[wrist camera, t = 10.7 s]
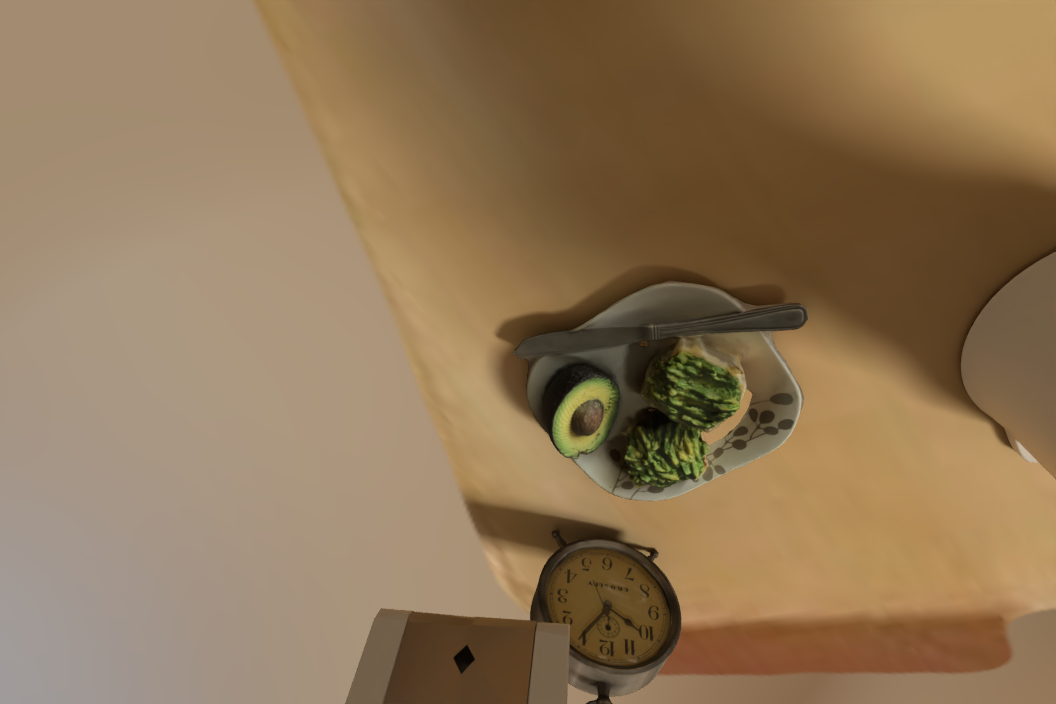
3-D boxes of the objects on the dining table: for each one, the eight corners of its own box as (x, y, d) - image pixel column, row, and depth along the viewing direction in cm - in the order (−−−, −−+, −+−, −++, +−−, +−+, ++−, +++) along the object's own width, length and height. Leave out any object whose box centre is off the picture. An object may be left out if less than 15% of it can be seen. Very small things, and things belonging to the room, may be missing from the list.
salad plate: (737, 195, 38) (752, 225, 34) (864, 400, 44) (888, 444, 40) (485, 351, 45) (474, 390, 42) (625, 504, 52) (626, 550, 48)
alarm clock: (675, 541, 53) (698, 749, 40) (656, 581, 56) (670, 787, 43) (546, 513, 53) (525, 712, 40) (534, 555, 56) (510, 753, 43)
